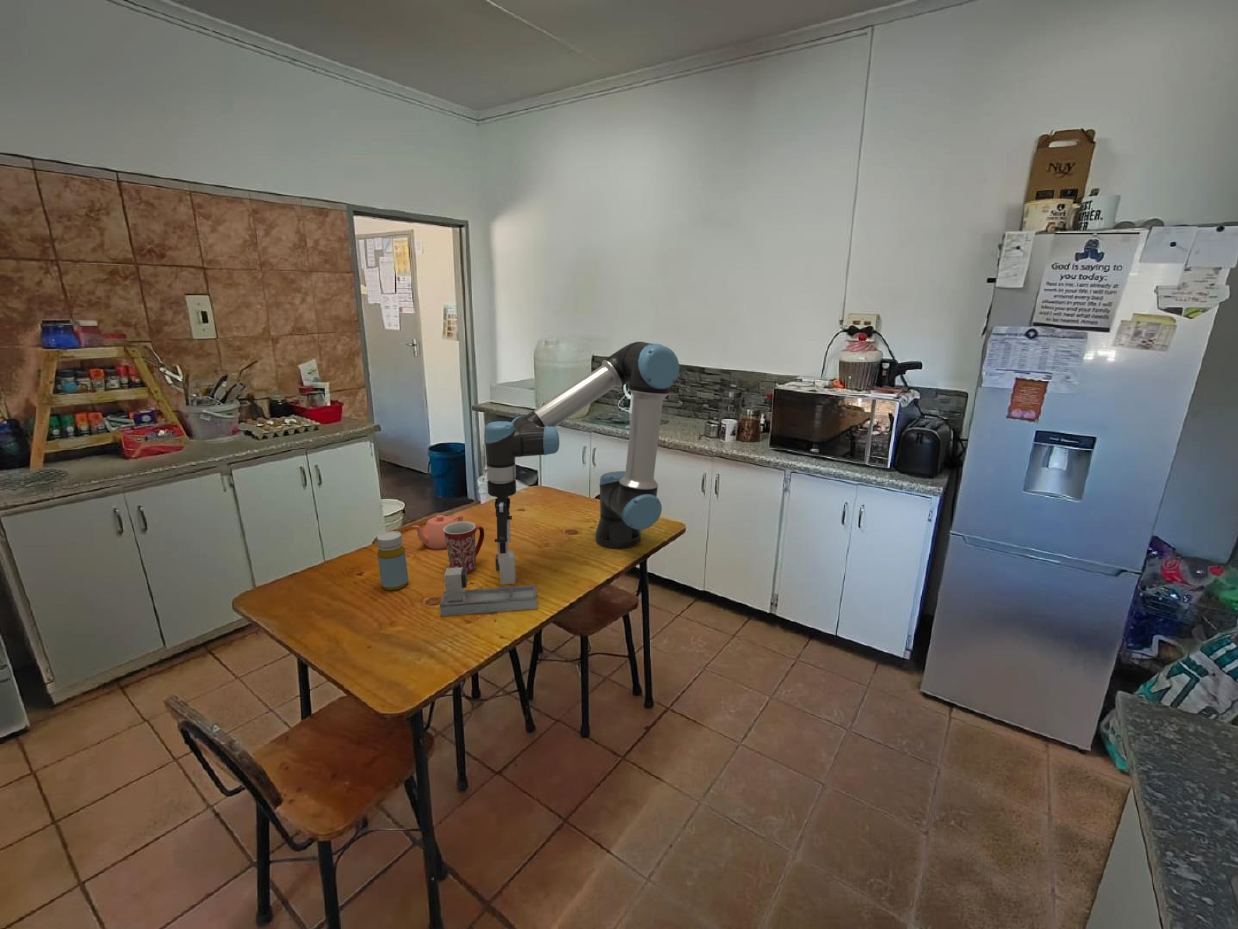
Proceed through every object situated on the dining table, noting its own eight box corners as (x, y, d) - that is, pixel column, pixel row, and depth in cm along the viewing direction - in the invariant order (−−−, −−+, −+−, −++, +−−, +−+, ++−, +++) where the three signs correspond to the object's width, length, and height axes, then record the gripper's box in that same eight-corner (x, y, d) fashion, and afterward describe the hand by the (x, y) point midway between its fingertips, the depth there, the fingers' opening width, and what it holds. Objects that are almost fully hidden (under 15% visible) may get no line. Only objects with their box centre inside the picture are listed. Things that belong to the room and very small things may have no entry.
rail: (536, 595, 150) (535, 559, 147) (537, 608, 143) (535, 571, 140) (444, 602, 146) (441, 566, 143) (440, 616, 140) (436, 578, 137)
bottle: (414, 581, 157) (408, 532, 153) (397, 593, 151) (390, 542, 147) (394, 577, 159) (387, 529, 155) (376, 589, 153) (369, 539, 149)
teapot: (474, 540, 185) (472, 513, 182) (424, 558, 172) (421, 529, 169) (454, 530, 192) (451, 504, 190) (405, 547, 179) (401, 519, 177)
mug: (459, 579, 158) (455, 536, 154) (441, 570, 164) (436, 527, 160) (495, 564, 167) (492, 522, 164) (476, 555, 173) (473, 515, 169)
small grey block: (515, 576, 160) (513, 551, 158) (515, 583, 156) (513, 557, 154) (497, 578, 159) (496, 552, 157) (496, 584, 155) (495, 558, 153)
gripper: (490, 466, 160) (493, 534, 166) (483, 495, 137) (487, 573, 143) (516, 466, 162) (519, 533, 167) (514, 494, 138) (517, 571, 144)
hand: (504, 552), depth 155 cm, fingers open, 13 cm apart
